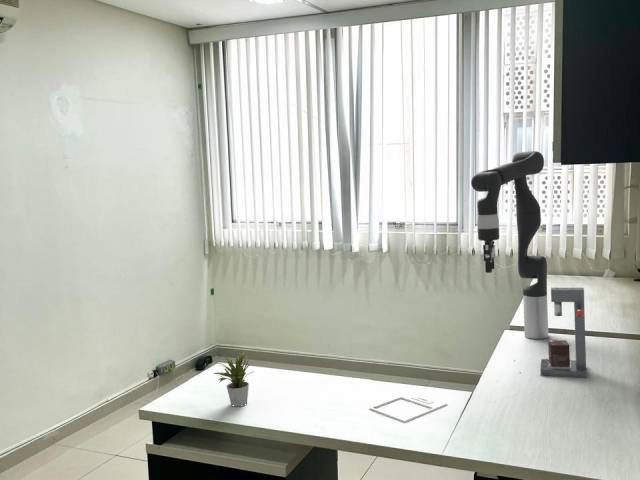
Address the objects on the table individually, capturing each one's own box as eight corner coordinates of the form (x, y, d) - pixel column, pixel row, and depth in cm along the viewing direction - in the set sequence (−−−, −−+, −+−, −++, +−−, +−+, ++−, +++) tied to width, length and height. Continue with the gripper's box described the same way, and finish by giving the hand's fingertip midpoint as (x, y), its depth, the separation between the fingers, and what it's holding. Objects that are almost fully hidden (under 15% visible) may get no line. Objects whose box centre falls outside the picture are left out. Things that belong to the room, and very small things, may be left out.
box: (570, 366, 199) (569, 344, 198) (551, 366, 200) (550, 345, 200) (567, 361, 205) (566, 340, 204) (548, 361, 206) (547, 340, 206)
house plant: (225, 394, 202) (221, 347, 200) (265, 394, 199) (261, 346, 198) (210, 411, 188) (206, 359, 186) (253, 410, 185) (249, 359, 184)
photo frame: (447, 402, 179) (404, 420, 168) (447, 406, 179) (404, 424, 169) (411, 391, 191) (369, 407, 180) (411, 394, 191) (369, 410, 180)
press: (541, 364, 211) (538, 285, 208) (585, 366, 205) (583, 285, 203) (540, 380, 195) (537, 295, 192) (587, 383, 190) (585, 295, 187)
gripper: (496, 228, 212) (498, 273, 214) (500, 224, 225) (502, 267, 227) (475, 229, 215) (477, 274, 216) (480, 225, 228) (481, 268, 229)
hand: (490, 270), depth 221 cm, fingers open, 8 cm apart
